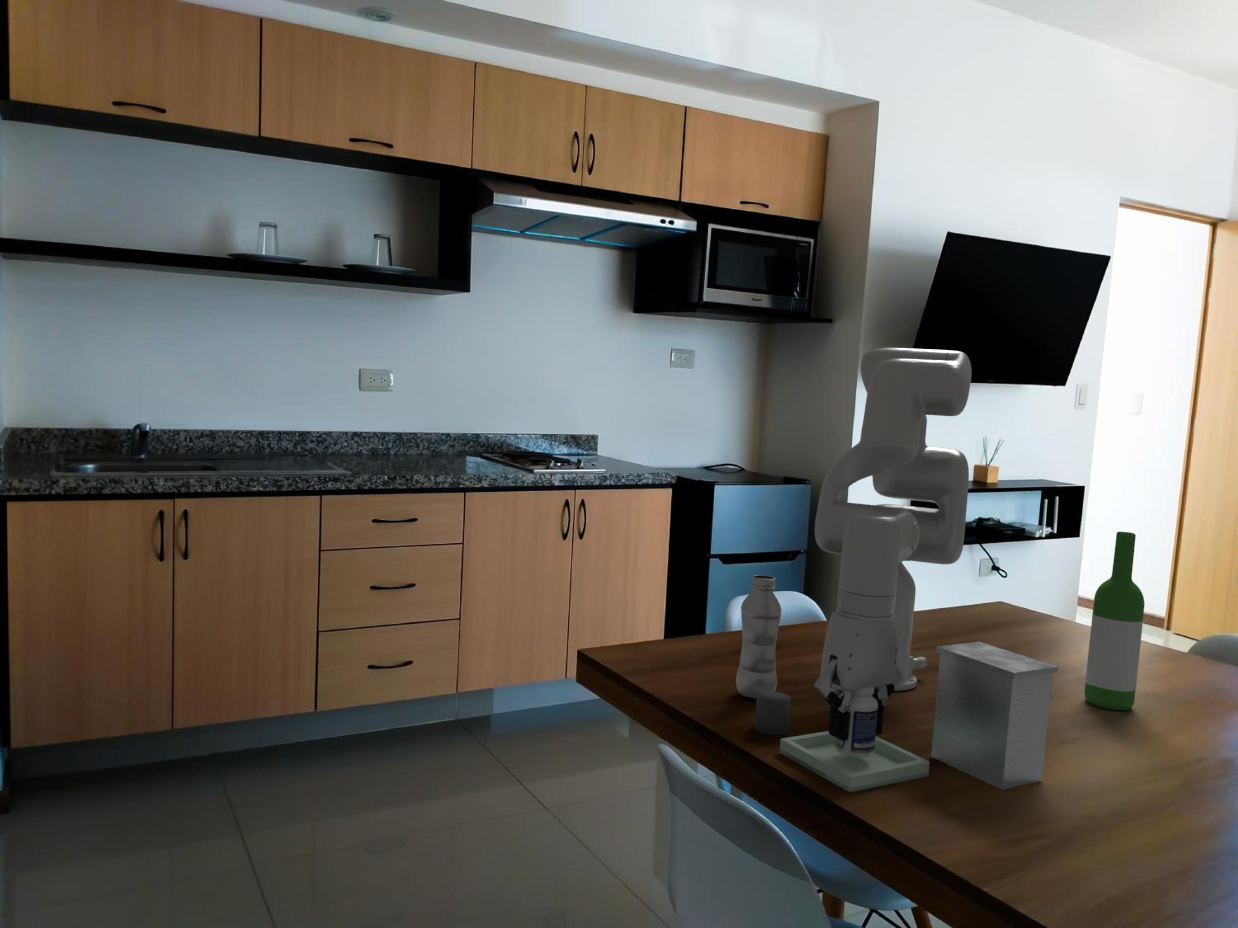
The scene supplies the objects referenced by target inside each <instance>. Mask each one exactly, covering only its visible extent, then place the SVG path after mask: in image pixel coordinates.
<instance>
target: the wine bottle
mask: <svg viewBox="0 0 1238 928" xmlns="http://www.w3.org/2000/svg"><path fill="white" fill-rule="evenodd" d="M1135 546H1136V534H1135V533H1134V532H1129V531H1117V532H1116V535H1115V546H1114V553H1113V561H1112V570H1111V571H1112V572H1111V576H1110V578H1108V579H1107V580H1105V581H1103V582H1102V583H1101V584H1100V585H1099V586H1098V587H1097V589H1096V591H1095V593H1094V597H1093V608H1092V616H1091V625H1090V634H1089V645H1088V653H1087V662H1086V673H1085V684H1084V698H1085V700H1086V701H1087V702H1088V703H1090V704H1091V705H1093V706H1095V707H1099V708H1102V709H1106V710H1110V711H1111V710H1112V711H1127V710H1130V709H1132V708H1133V706H1134V705H1135V699H1136V698H1135V697H1136V691H1137V690H1136V689H1137V683H1138V681H1137V680H1138V672H1139V663H1140V662H1139V661H1140V651H1141V643H1142V633H1143V624H1144V623H1143V622H1144V612H1145V598H1144V595H1143V592H1142V590H1141V589H1140V587H1139V586H1138V585H1137V584H1136V583H1135V582H1134V581H1133V579H1132V578H1133V577H1132V576H1133V568H1134V558H1135Z"/></svg>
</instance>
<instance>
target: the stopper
mask: <svg viewBox="0 0 1238 928" xmlns="http://www.w3.org/2000/svg"><path fill="white" fill-rule="evenodd" d="M755 702H756V703H755V714H754V715H755V717H754V729H755V730H756V731H757V732H759V733H761V734H764V735H769V736H785V735H787V734H788V733H789V729H790V718H791V717H790V716H791V704H792V703H791V702H792V698H791V696H790V695H788V694H787V693H782V692H779V691H778V692H777V691H775V692H773V691H764V692H760V693H758V694H757V699H756V701H755Z"/></svg>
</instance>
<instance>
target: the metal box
mask: <svg viewBox="0 0 1238 928" xmlns="http://www.w3.org/2000/svg"><path fill="white" fill-rule="evenodd" d="M935 652H936V653H938V654H940V655H939V665H938V673H937V674H938V676H937V687H936V696H935V697H936V698H935V708H934V710H935V711H934V721H933V731H932V740H931V741H932V743H931V753H930V757H931V758H933V759H935V760H937V761H939V762H941V763H944V764H946V765H948V766H949V767H953V768H955V769H957V770H958V771H961V772H963V773H965V774H967V775H969V776H972V777H974V778H976V779H978V780H980V781H982V782H985V783H987V784H989V785H991V786H993V787H995V788H997V789H998V790H1001V791H1002V790H1007V789H1012V788H1016V787H1020V786H1026V785H1030V784H1034V783H1038V782H1042V781H1043V773H1044V764H1045V763H1044V762H1045V753H1046V742H1047V734H1048V733H1047V732H1048V723H1049V714H1050V713H1049V712H1050V703H1051V694H1052V693H1051V692H1052V684H1053V682H1052V681H1053V674H1056V673H1057V674H1058V672H1059V671H1058V669H1059V666H1057V665H1053V664H1051V663H1047V662H1044V661H1042V660H1039V659H1036V658H1032V657H1028V656H1026V655H1022V654H1020V653H1015V652H1013V651H1010V650H1007V649H1005V648H1003V649H1002V648H1001V647H997V646H993V645H991V644H988V643H984V642H981V641H977V642H976V641H974V642H965V643H956V644H955V643H954V644H948V645H939V646H938V645H937V646H936V650H935Z"/></svg>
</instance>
